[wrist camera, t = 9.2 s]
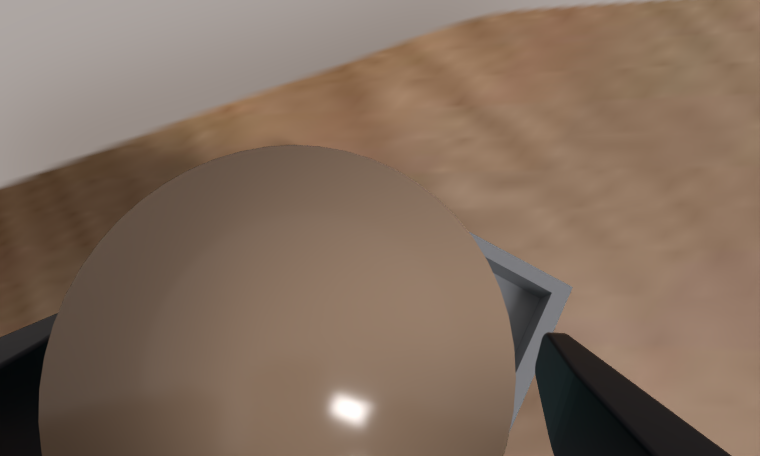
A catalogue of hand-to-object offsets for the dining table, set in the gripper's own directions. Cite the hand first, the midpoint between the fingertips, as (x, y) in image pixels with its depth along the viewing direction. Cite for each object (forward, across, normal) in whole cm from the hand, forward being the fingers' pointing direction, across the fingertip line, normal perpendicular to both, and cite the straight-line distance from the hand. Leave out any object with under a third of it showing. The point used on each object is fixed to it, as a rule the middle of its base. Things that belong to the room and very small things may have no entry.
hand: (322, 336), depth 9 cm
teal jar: (+6, 0, +6) cm, 9 cm away
